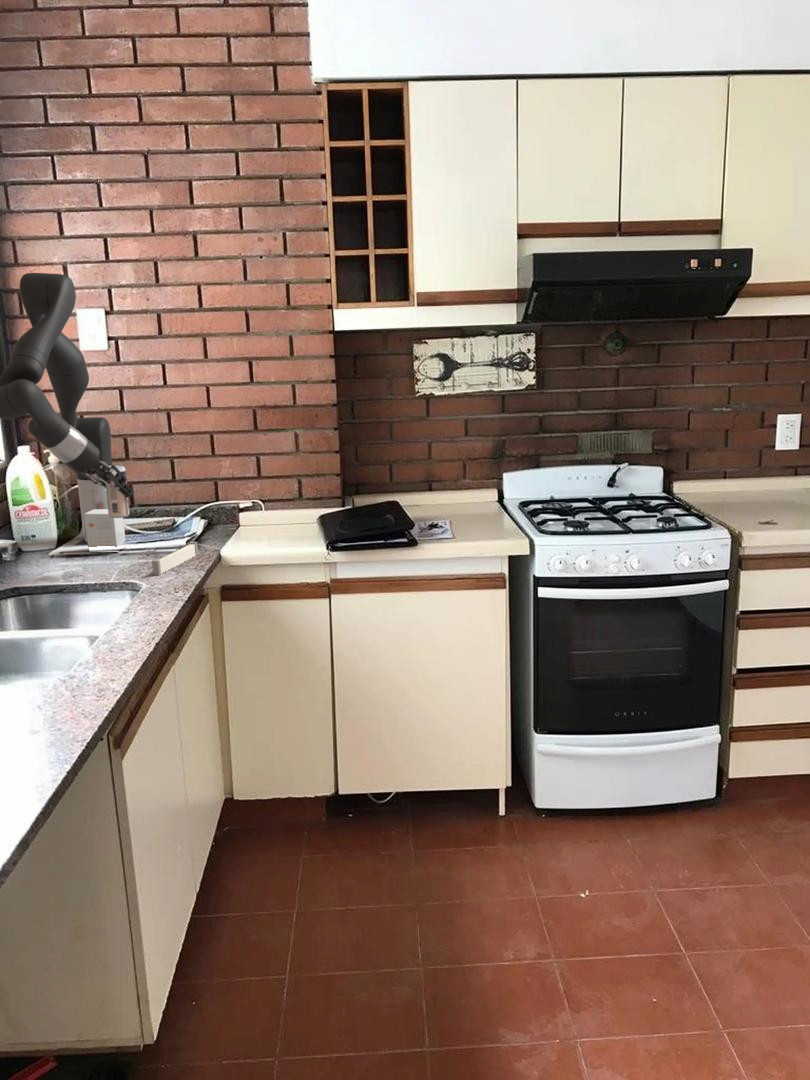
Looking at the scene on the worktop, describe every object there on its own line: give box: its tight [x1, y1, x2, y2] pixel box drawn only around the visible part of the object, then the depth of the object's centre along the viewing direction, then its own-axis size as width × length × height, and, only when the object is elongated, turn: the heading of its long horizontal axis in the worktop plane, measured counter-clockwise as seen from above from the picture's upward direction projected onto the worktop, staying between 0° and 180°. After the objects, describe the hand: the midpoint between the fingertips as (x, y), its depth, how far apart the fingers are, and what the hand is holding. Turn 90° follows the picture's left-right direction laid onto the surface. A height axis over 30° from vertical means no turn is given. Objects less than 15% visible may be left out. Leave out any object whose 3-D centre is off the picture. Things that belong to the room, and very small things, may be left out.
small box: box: [84, 509, 127, 548], centre depth 220 cm, size 8×6×10 cm
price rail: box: [151, 541, 199, 576], centre depth 206 cm, size 18×2×3 cm, turn 165°
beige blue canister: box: [105, 464, 130, 519], centre depth 200 cm, size 5×5×12 cm
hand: (124, 493), depth 202 cm, fingers closed on beige blue canister, 4 cm apart
